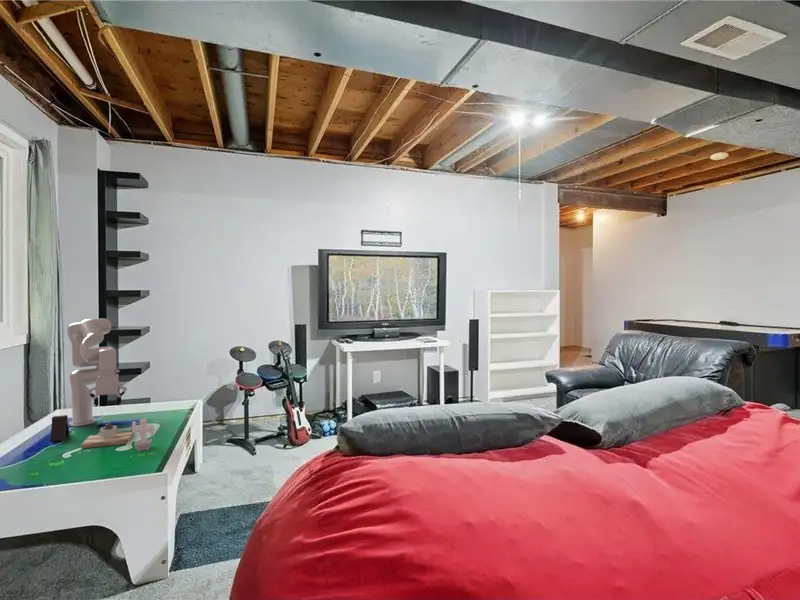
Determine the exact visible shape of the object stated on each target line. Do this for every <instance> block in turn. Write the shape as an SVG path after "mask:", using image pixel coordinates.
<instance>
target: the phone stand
mask: <svg viewBox="0 0 800 600" xmlns="http://www.w3.org/2000/svg"><path fill="white" fill-rule="evenodd" d="M69 426H70V425H69V420H68V414H66V415H53V416H52V417H51V428H50V436H49V437H50V438H49V442H60V441H65V440H66V439H67V438H68V437H69V436H71V433H70V428H69Z"/></svg>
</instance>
